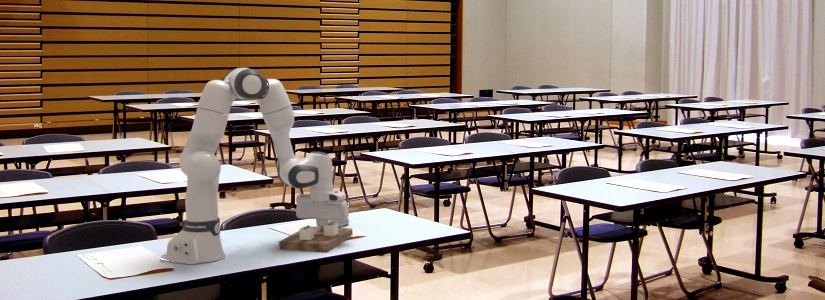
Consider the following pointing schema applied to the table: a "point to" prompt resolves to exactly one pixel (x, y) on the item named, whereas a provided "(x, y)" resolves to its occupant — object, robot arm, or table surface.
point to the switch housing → (315, 241)
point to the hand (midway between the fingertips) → (322, 230)
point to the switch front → (306, 233)
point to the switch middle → (331, 229)
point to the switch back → (322, 224)
